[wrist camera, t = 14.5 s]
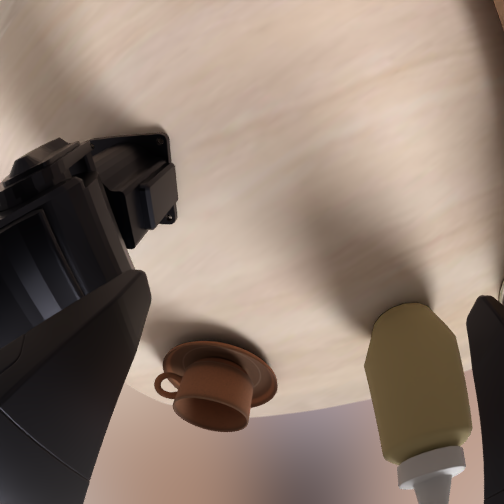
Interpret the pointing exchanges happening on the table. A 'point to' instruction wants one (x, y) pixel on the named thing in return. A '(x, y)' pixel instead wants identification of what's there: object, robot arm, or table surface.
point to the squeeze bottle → (419, 399)
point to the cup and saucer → (216, 384)
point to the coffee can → (502, 294)
